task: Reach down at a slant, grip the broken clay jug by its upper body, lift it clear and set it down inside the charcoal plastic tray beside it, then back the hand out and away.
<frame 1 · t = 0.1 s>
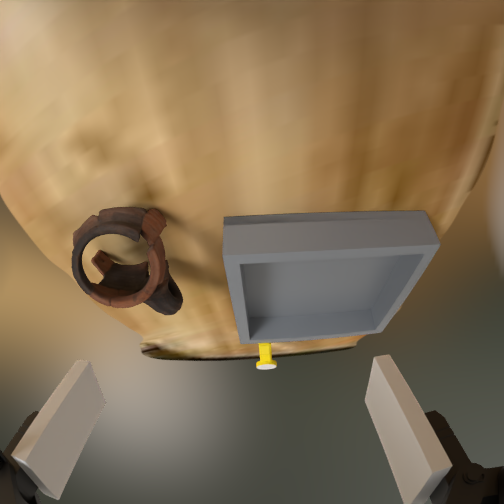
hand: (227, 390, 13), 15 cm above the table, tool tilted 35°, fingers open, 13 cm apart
tray: (319, 272, 33), on the table
broken clay jug: (138, 237, 28), on the table
watch: (264, 327, 45), on the table
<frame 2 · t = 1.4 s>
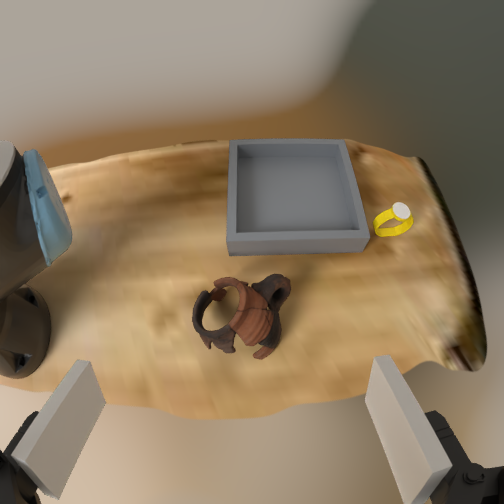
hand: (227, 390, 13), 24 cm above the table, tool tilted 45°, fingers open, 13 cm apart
tray: (292, 199, 47), on the table
broken clay jug: (248, 320, 39), on the table
watch: (386, 233, 44), on the table
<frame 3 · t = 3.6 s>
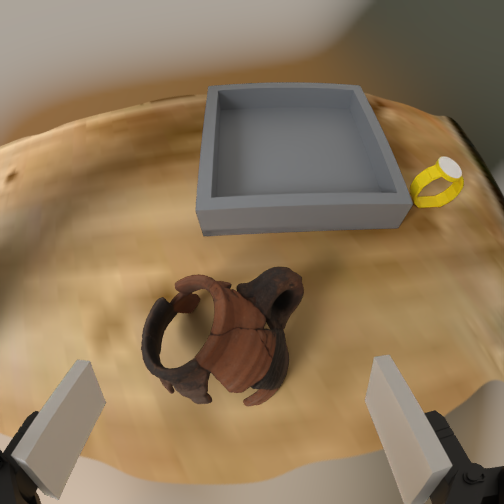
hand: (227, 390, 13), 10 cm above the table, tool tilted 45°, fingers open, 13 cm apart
tray: (294, 158, 32), on the table
broken clay jug: (235, 343, 24), on the table
watch: (426, 203, 30), on the table
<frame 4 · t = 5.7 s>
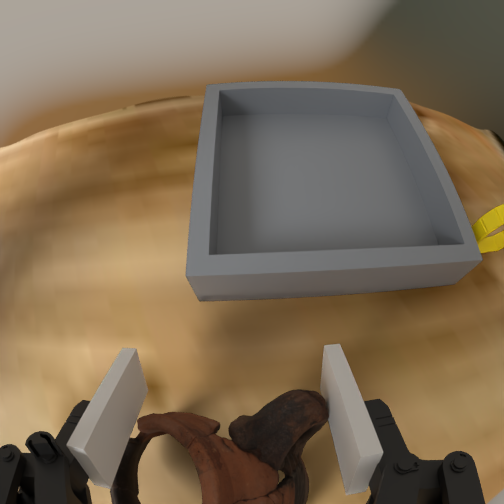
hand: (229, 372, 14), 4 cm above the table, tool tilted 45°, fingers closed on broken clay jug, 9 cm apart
tray: (322, 184, 24), on the table
broken clay jug: (235, 466, 15), on the table, touching gripper
watch: (483, 246, 21), on the table
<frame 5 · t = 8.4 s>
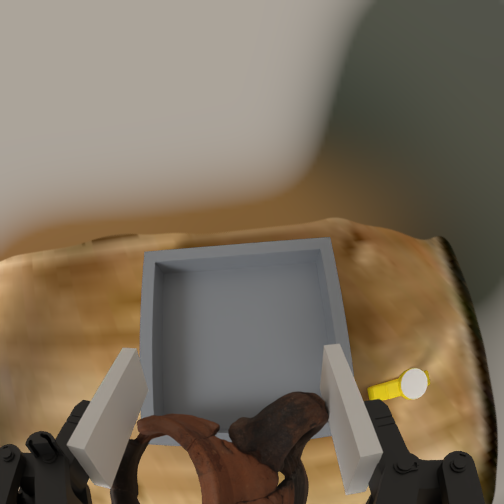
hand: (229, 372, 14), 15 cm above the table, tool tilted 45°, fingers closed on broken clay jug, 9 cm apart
tray: (244, 347, 30), on the table
broken clay jug: (235, 467, 15), point 12 cm above the table, touching gripper
watch: (387, 388, 27), on the table
when the fingers open (6 cm above the table, at t = 11.1 s): broken clay jug drops 1 cm, resting on tray.
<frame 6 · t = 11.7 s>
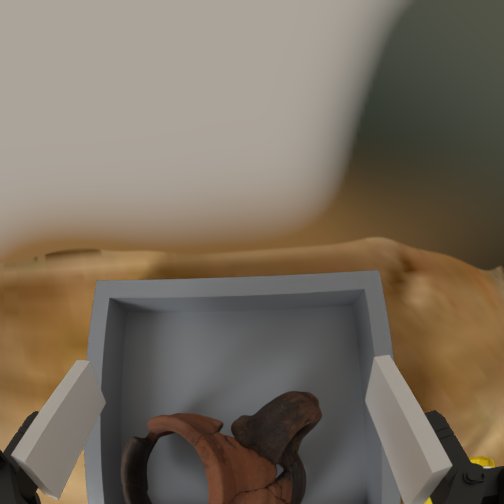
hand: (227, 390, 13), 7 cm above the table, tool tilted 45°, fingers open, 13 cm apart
tray: (240, 428, 18), on the table
broken clay jug: (237, 462, 16), point 1 cm above the table, touching tray
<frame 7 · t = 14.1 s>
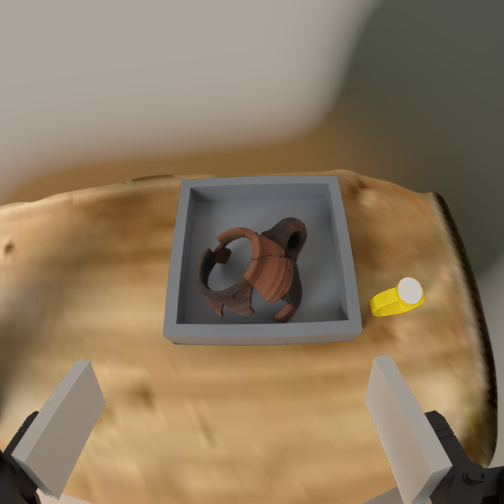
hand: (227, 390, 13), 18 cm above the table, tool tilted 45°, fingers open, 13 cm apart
tray: (261, 263, 35), on the table
broken clay jug: (261, 281, 33), point 1 cm above the table, touching tray
watch: (388, 309, 32), on the table
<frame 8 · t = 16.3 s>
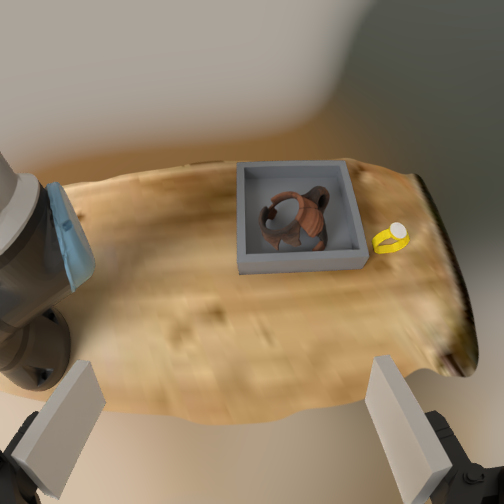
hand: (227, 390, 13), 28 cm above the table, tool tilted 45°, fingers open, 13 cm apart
tray: (296, 219, 50), on the table
broken clay jug: (298, 231, 48), point 1 cm above the table, touching tray
watch: (385, 250, 47), on the table
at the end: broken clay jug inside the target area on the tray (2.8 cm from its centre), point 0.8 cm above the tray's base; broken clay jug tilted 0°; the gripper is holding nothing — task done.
